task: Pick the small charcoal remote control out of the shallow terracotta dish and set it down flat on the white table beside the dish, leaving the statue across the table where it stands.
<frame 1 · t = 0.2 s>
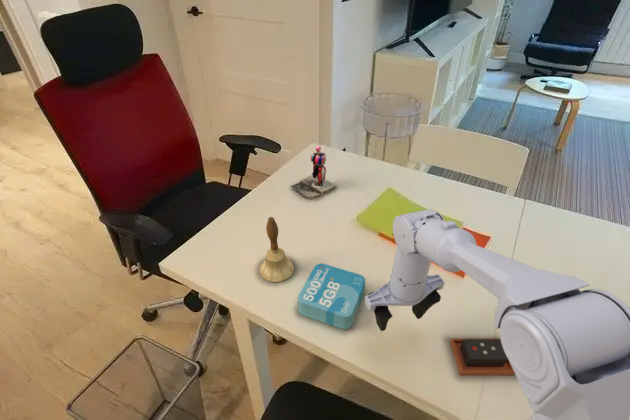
hand: (398, 320, 70), 7 cm above the table, tool pointing down, fingers open, 7 cm apart
statue: (312, 189, 117), on the table
remote: (480, 357, 72), resting on dish
dish: (480, 357, 72), on the table
data package: (359, 303, 79), point 2 cm above the table
hand bell: (277, 269, 90), on the table
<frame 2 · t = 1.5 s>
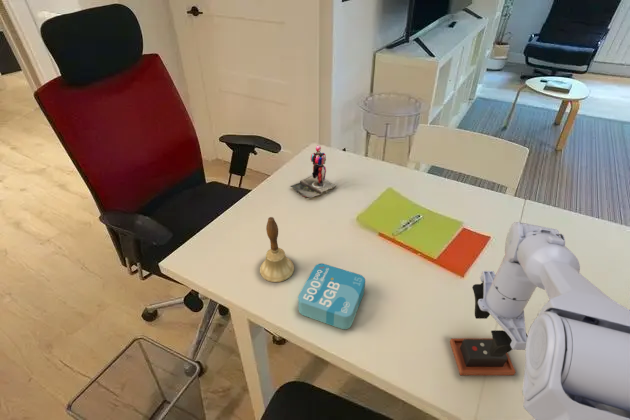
hand: (487, 335, 68), 7 cm above the table, tool pointing down, fingers open, 7 cm apart
nothing on the table moved.
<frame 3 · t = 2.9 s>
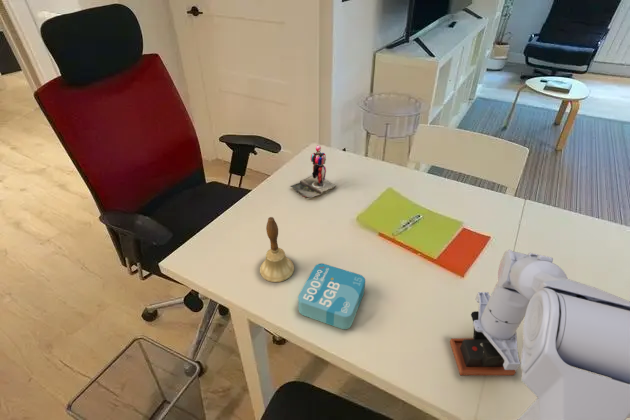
hand: (482, 353, 71), 2 cm above the table, tool pointing down, fingers closed on remote, 4 cm apart
remote: (480, 357, 72), resting on dish, touching gripper
everything else where it was.
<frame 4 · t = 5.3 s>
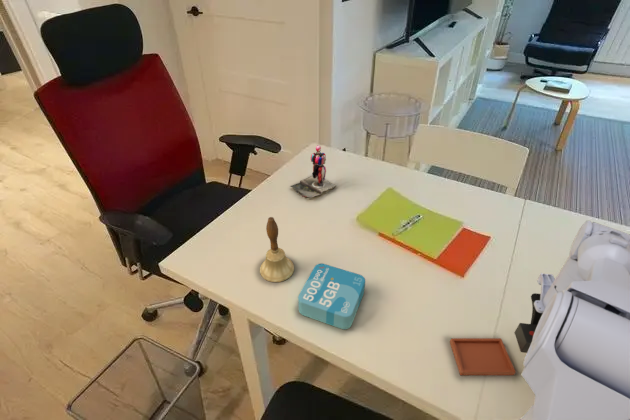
hand: (540, 339, 65), 9 cm above the table, tool pointing down, fingers closed on remote, 4 cm apart
remote: (537, 344, 66), point 7 cm above the table, touching gripper
everything else where it was.
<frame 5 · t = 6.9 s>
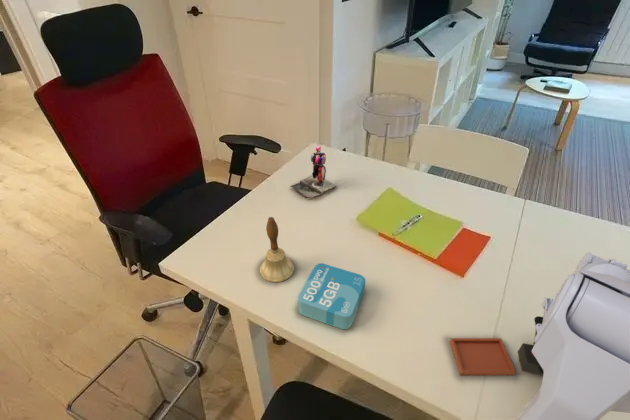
hand: (542, 360, 69), 3 cm above the table, tool pointing down, fingers closed on remote, 4 cm apart
remote: (539, 364, 70), point 1 cm above the table, touching gripper
everything else where it was.
when the fingers open (1 cm above the table, at t = 7.7 s): remote stays where it is, on the table.
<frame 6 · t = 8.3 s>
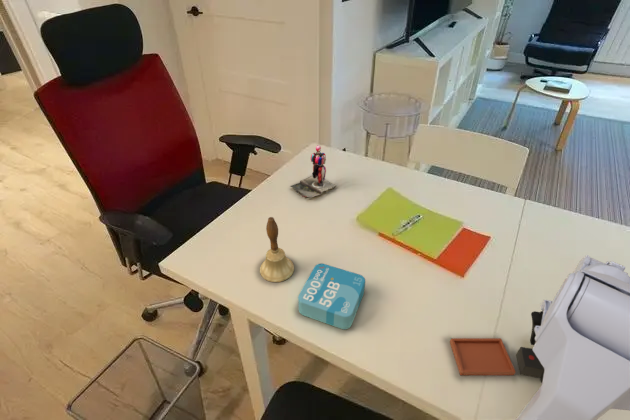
hand: (540, 362, 69), 2 cm above the table, tool pointing down, fingers open, 7 cm apart
remote: (537, 368, 70), on the table
everything else where it was.
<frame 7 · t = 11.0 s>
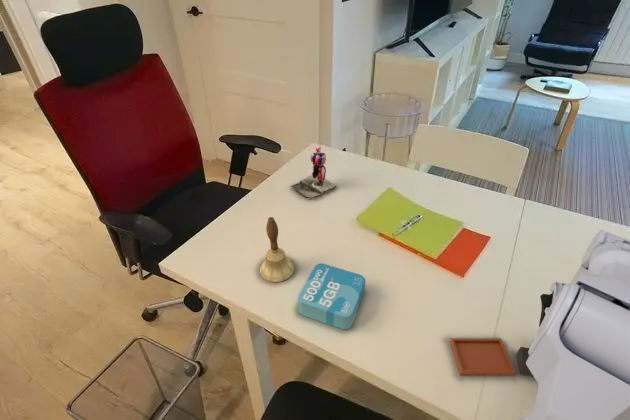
hand: (551, 347, 66), 7 cm above the table, tool pointing down, fingers open, 7 cm apart
nothing on the table moved.
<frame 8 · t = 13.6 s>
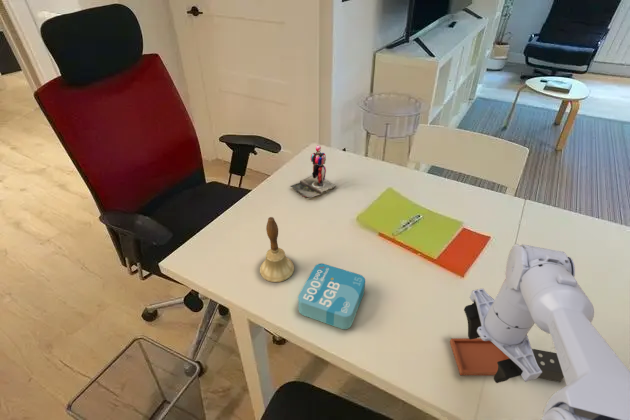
hand: (486, 357, 62), 9 cm above the table, tool pointing down, fingers open, 7 cm apart
nothing on the table moved.
at the end: remote 0.0 cm from the target spot, on the table; remote touching table; statue moved 0.2 cm from its start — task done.
